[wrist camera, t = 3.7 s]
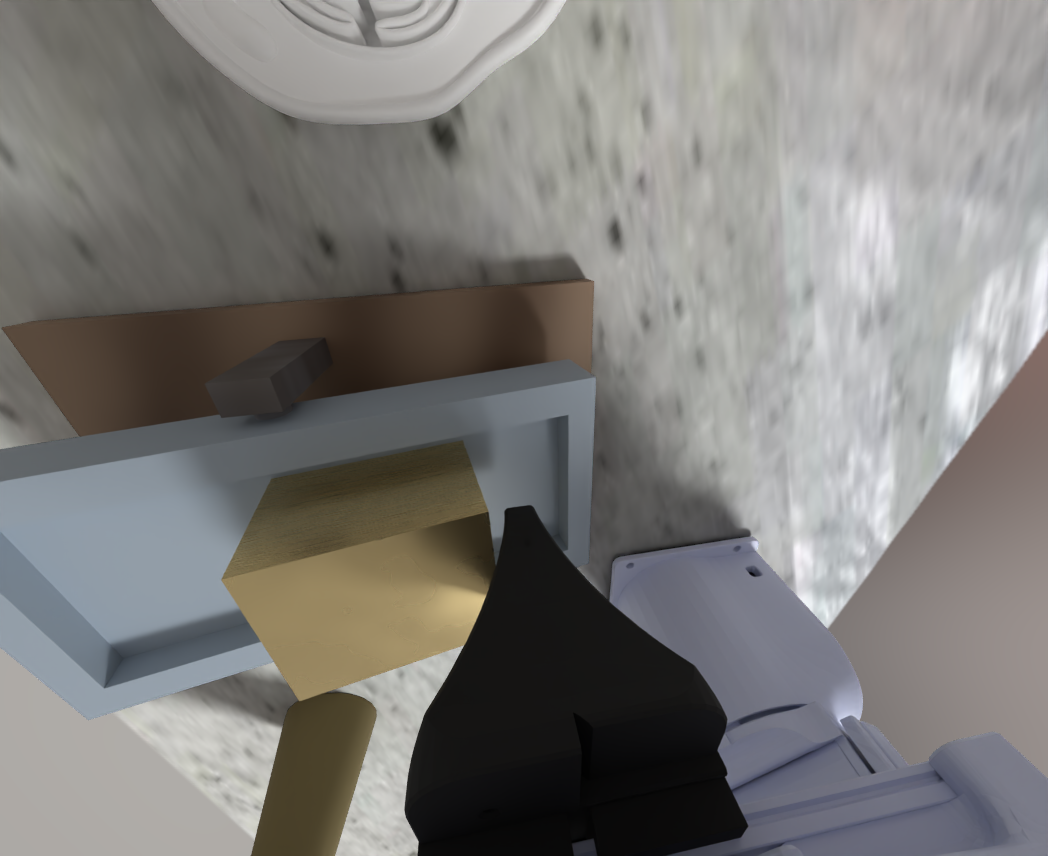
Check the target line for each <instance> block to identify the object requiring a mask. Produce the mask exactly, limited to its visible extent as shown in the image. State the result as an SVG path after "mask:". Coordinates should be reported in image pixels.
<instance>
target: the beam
mask: <svg viewBox="0 0 1048 856" xmlns="http://www.w3.org/2000/svg"><path fill="white" fill-rule="evenodd" d="M595 393H596V377H595V376H594V375H592V374H591V373H589V372H588V371H586V370H585V369H583V368H582V367H580V366H579V365H577V364H576V363H574V362H573V361H571V360H570V359H567V360H560V361H554V362H548V363H541V364H535V365H529V366H522V367H516V368H510V369H504V370H497V371H491V372H485V373H478V374H472V375H466V376H459V377H453V378H447V379H441V380H434V381H428V382H422V383H415V384H409V385H403V386H396V387H390V388H384V389H378V390H371V391H365V392H359V393H352V394H346V395H340V396H333V397H327V398H321V399H315V400H308V401H302V402H296V403H292V404H291V405H290V406H289V407H288V408H286V409H285V410H284V411H283V412H275V413H265V414H256V415H246V416H237V417H227V418H221V416H220V415H214V416H207V417H201V418H195V419H189V420H182V421H176V422H170V423H163V424H157V425H151V426H144V427H138V428H132V429H126V430H119V431H113V432H107V433H100V434H94V435H88V436H81V437H75V438H69V439H63V440H56V441H50V442H44V443H37V444H31V445H25V446H18V447H12V448H6V449H0V648H1V649H3V650H4V651H5V652H6V653H7V654H9V655H10V656H11V657H12V658H13V659H15V660H16V661H17V662H19V663H20V664H21V665H22V666H23V667H24V668H26V669H27V670H28V671H29V672H30V673H32V674H33V675H34V676H35V677H36V678H38V679H39V680H40V681H41V682H43V683H44V684H45V685H46V686H47V687H49V688H50V689H51V690H52V691H53V692H55V693H56V694H57V695H59V696H60V697H61V698H62V699H63V700H64V701H66V702H67V703H68V704H69V705H70V706H72V707H73V708H74V709H75V710H76V711H78V712H79V713H80V714H81V715H83V716H84V717H85V718H86V719H87V720H90V719H93V718H97V717H100V716H103V715H106V714H109V713H113V712H116V711H119V710H122V709H125V708H129V707H132V706H135V705H138V704H141V703H144V702H148V701H151V700H154V699H157V698H160V697H164V696H167V695H170V694H173V693H176V692H180V691H183V690H186V689H189V688H192V687H196V686H199V685H202V684H205V683H208V682H212V681H215V680H218V679H221V678H224V677H227V676H231V675H234V674H237V673H240V672H243V671H247V670H250V669H253V668H256V667H259V666H263V665H266V664H269V663H272V662H274V661H273V660H272V658H271V657H270V655H269V653H268V652H267V650H266V649H265V647H264V646H263V644H262V643H261V641H260V640H259V638H258V636H257V635H256V633H255V632H254V630H253V629H252V627H251V626H250V624H249V622H248V621H247V619H246V618H245V616H244V615H243V613H242V612H241V610H240V608H239V607H238V605H237V604H236V602H235V601H234V599H233V598H232V596H231V595H230V593H229V591H228V590H227V588H226V587H225V585H224V584H223V582H222V581H221V579H222V577H223V575H224V573H225V571H226V569H227V567H228V565H229V563H230V561H231V559H232V557H233V555H234V553H235V551H236V549H237V547H238V545H239V543H240V541H241V539H242V537H243V535H244V532H245V530H246V528H247V526H248V524H249V522H250V520H251V518H252V516H253V514H254V512H255V510H256V508H257V506H258V504H259V502H260V500H261V498H262V496H263V494H264V492H265V490H266V488H267V486H268V484H269V482H270V480H271V479H273V478H278V477H283V476H288V475H293V474H298V473H303V472H308V471H313V470H318V469H323V468H328V467H333V466H338V465H342V464H347V463H352V462H357V461H362V460H367V459H372V458H377V457H382V456H387V455H392V454H397V453H402V452H407V451H412V450H417V449H422V448H427V447H432V446H437V445H442V444H447V443H452V442H456V441H461V440H463V442H464V445H465V448H466V451H467V453H468V456H469V459H470V462H471V464H472V467H473V470H474V473H475V475H476V478H477V481H478V484H479V486H480V489H481V492H482V495H483V497H484V500H485V503H486V506H487V508H488V511H489V518H490V526H491V533H492V541H493V549H494V557H495V564H497V560H498V556H499V552H500V547H501V543H502V537H503V531H504V518H505V516H504V511H505V510H506V509H507V508H511V507H519V506H526V505H532V506H533V507H534V508H535V511H536V512H537V514H538V516H539V518H540V520H541V521H542V523H543V524H544V526H545V528H546V529H547V531H548V532H549V534H550V535H551V536H552V538H553V539H554V541H555V542H556V543H557V545H558V546H559V547H560V548H561V550H562V551H563V552H564V554H565V555H566V556H567V557H568V559H569V560H570V561H571V562H572V563H573V564H574V566H575V567H579V566H582V565H585V564H588V563H589V547H590V521H591V496H592V470H593V444H594V419H595Z"/></svg>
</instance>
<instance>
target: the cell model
mask: <svg viewBox="0 0 1048 856" xmlns="http://www.w3.org/2000/svg"><path fill="white" fill-rule="evenodd" d="M151 1H152V2H153V3H154V4H155V6H156V7H157V8H158V9H159V11H160V12H161V13H162V14H163V16H164V17H165V18H166V19H167V20H168V21H169V23H170V24H171V25H172V26H173V27H174V28H175V29H176V30H177V31H178V32H179V34H180V35H181V36H182V37H183V38H184V39H185V40H186V41H187V42H188V43H189V44H190V45H191V46H192V47H193V48H194V49H195V50H196V51H197V52H198V53H199V54H200V55H201V56H203V57H204V58H205V59H206V60H207V61H208V62H209V63H211V64H212V65H213V66H214V67H215V68H216V69H217V70H219V71H220V72H221V73H222V74H224V75H225V76H226V77H227V78H229V79H230V80H231V81H232V82H234V83H235V84H236V85H238V86H239V87H240V88H242V89H243V90H244V91H246V92H247V93H249V94H250V95H252V96H253V97H255V98H256V99H258V100H259V101H261V102H262V103H264V104H266V105H268V106H269V107H271V108H273V109H275V110H277V111H279V112H281V113H284V114H286V115H288V116H291V117H294V118H297V119H301V120H305V121H310V122H315V123H323V124H337V125H368V124H389V123H407V122H416V121H422V120H426V119H431V118H434V117H437V116H439V115H441V114H444V113H446V112H448V111H449V110H450V109H452V108H453V107H455V106H456V105H458V104H459V103H460V102H461V101H462V100H463V99H464V98H466V97H467V96H468V95H469V94H470V93H471V92H472V91H473V90H474V89H475V88H476V87H477V86H478V85H479V84H480V83H481V82H482V81H484V80H485V79H486V78H487V77H488V76H489V75H490V74H491V73H492V72H494V71H495V70H497V69H498V68H499V67H501V66H502V65H503V64H505V63H506V62H508V61H509V60H511V59H513V58H514V57H516V56H517V55H518V54H520V53H521V52H523V51H524V50H526V49H527V48H528V47H530V46H531V45H532V44H533V43H535V42H536V41H537V40H538V39H539V38H540V37H541V35H542V34H543V33H544V32H545V31H546V30H547V29H548V27H549V26H550V25H551V23H552V22H553V21H554V20H555V18H556V16H557V15H558V13H559V12H560V10H561V9H562V7H563V5H564V4H565V2H566V0H151Z"/></svg>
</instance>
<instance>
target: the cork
mask: <svg viewBox="0 0 1048 856" xmlns="http://www.w3.org/2000/svg"><path fill="white" fill-rule="evenodd" d="M376 717H377V716H376V709H375V707H374V706H373V704H372V703H370V702H369V701H367V700H366V699H364V698H362V697H359V696H355V695H352V694H345V693H322V694H320V695H317V696H314V697H311V698H308V699H305V700H302V701H298V702H296V703H295V704H294V705H293V706H291V707H290V708H289V709H288V711H287V714H286V716H285V720H284V724H283V728H282V732H281V736H280V740H279V744H278V748H277V752H276V757H275V761H274V765H273V769H272V773H271V777H270V781H269V785H268V789H267V793H266V797H265V801H264V805H263V809H262V813H261V817H260V821H259V825H258V829H257V834H256V838H255V842H254V846H253V850H252V854H251V856H335V854H336V851H337V847H338V844H339V841H340V837H341V834H342V831H343V827H344V824H345V821H346V817H347V814H348V811H349V807H350V804H351V801H352V797H353V794H354V791H355V787H356V784H357V781H358V777H359V774H360V771H361V767H362V764H363V761H364V757H365V754H366V751H367V747H368V744H369V741H370V737H371V734H372V731H373V727H374V724H375V721H376Z"/></svg>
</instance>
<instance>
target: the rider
mask: <svg viewBox="0 0 1048 856" xmlns="http://www.w3.org/2000/svg"><path fill="white" fill-rule="evenodd" d="M495 567H496V564H495V557H494V549H493V541H492V533H491V526H490V518H489V511H488V508H487V506H486V503H485V500H484V497H483V495H482V492H481V489H480V486H479V484H478V481H477V478H476V475H475V473H474V470H473V467H472V464H471V462H470V459H469V456H468V453H467V451H466V448H465V445H464V442H463V440H461V441H456V442H452V443H447V444H442V445H437V446H432V447H427V448H422V449H417V450H412V451H407V452H402V453H397V454H392V455H387V456H382V457H377V458H372V459H367V460H362V461H357V462H352V463H347V464H342V465H338V466H333V467H328V468H323V469H318V470H313V471H308V472H303V473H298V474H293V475H288V476H283V477H278V478H273V479H271V480H270V482H269V484H268V486H267V488H266V490H265V492H264V494H263V496H262V498H261V500H260V502H259V504H258V506H257V508H256V510H255V512H254V514H253V516H252V518H251V520H250V522H249V524H248V526H247V528H246V530H245V532H244V535H243V537H242V539H241V541H240V543H239V545H238V547H237V549H236V551H235V553H234V555H233V557H232V559H231V561H230V563H229V565H228V567H227V569H226V571H225V573H224V575H223V577H222V579H221V581H222V582H223V584H224V585H225V587H226V588H227V590H228V591H229V593H230V595H231V596H232V598H233V599H234V601H235V602H236V604H237V605H238V607H239V608H240V610H241V612H242V613H243V615H244V616H245V618H246V619H247V621H248V622H249V624H250V626H251V627H252V629H253V630H254V632H255V633H256V635H257V636H258V638H259V640H260V641H261V643H262V644H263V646H264V647H265V649H266V650H267V652H268V653H269V655H270V657H271V658H272V660H273V661H274V663H275V664H276V666H277V667H278V669H279V671H280V672H281V674H282V675H283V677H284V678H285V680H286V681H287V683H288V684H289V686H290V688H291V689H292V691H293V692H294V694H295V695H296V697H297V698H298V700H299V701H302V700H305V699H308V698H311V697H314V696H317V695H320V694H322V693H325V692H328V691H331V690H334V689H337V688H340V687H343V686H346V685H349V684H352V683H355V682H358V681H361V680H363V679H366V678H369V677H372V676H375V675H378V674H381V673H384V672H387V671H390V670H393V669H396V668H399V667H402V666H404V665H407V664H410V663H413V662H416V661H419V660H422V659H425V658H428V657H431V656H434V655H437V654H440V653H442V652H445V651H448V650H451V649H454V648H457V647H460V646H463V645H465V643H466V641H467V639H468V637H469V635H470V633H471V631H472V628H473V626H474V624H475V622H476V619H477V617H478V615H479V613H480V610H481V608H482V605H483V603H484V600H485V597H486V595H487V592H488V589H489V586H490V583H491V580H492V577H493V574H494V570H495Z"/></svg>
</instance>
